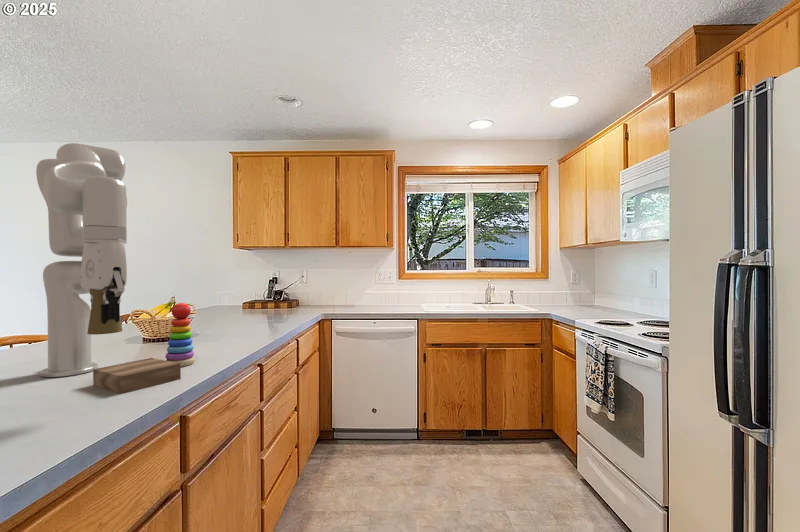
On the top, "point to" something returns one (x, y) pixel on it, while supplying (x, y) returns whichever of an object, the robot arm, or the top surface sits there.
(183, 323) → the stacking toy
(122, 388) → the walnut base brick
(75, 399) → the top surface
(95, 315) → the cork
